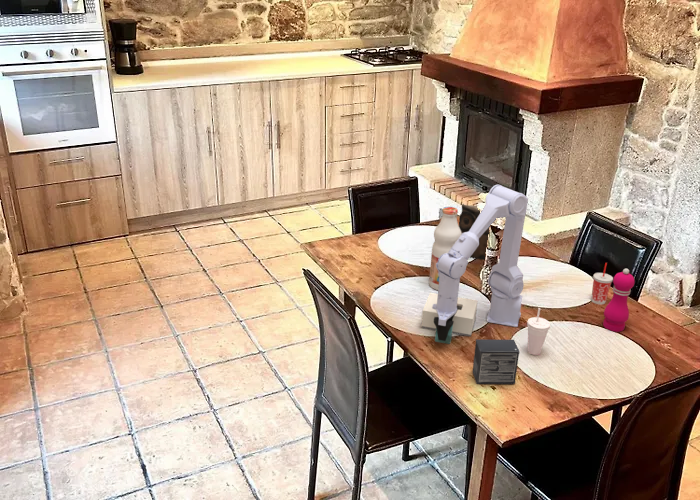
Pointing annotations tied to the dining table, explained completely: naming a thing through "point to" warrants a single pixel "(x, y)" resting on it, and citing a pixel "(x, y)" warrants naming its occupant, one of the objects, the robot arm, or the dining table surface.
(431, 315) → the money box
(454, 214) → the fruit juice
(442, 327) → the robot arm
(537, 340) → the smoothie
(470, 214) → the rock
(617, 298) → the pepper mill
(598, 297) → the beverage cup
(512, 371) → the small box
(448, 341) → the block
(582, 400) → the dining table surface
